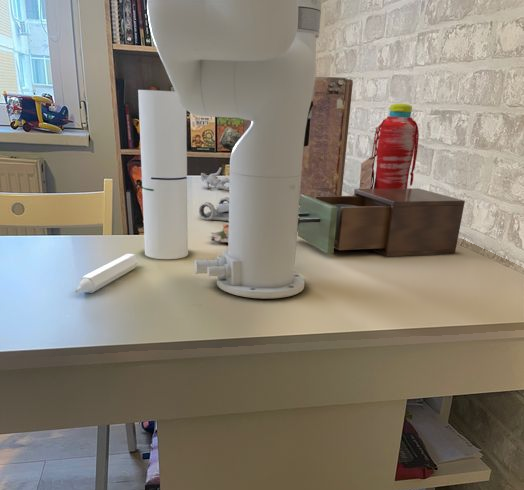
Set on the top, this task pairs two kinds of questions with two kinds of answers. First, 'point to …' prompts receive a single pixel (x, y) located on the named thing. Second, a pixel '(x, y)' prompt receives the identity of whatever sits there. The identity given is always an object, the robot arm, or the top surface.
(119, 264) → the marker
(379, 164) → the water bottle
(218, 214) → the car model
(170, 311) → the top surface
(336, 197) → the drawer
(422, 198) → the cabinet
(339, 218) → the tin
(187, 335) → the top surface
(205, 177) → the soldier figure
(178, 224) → the cylindrical container
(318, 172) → the book
